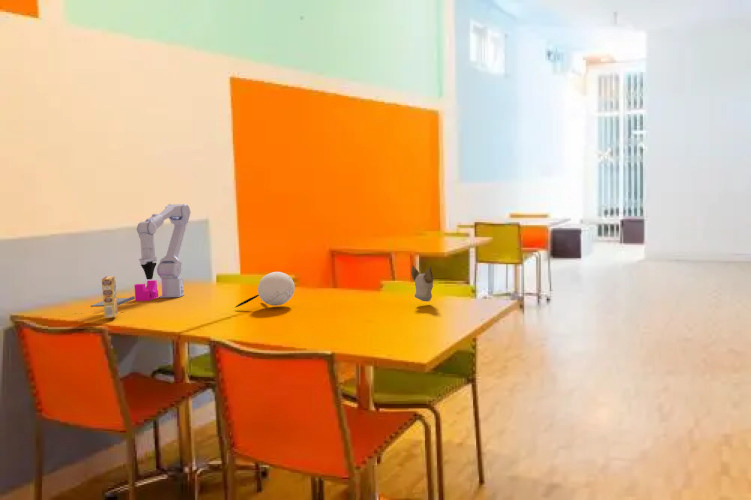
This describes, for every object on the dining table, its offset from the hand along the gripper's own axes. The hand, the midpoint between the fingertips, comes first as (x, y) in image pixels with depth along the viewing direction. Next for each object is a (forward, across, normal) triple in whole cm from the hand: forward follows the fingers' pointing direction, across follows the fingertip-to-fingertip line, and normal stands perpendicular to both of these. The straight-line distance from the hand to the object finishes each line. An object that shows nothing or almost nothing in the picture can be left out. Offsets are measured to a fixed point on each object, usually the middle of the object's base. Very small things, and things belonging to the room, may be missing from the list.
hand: (149, 279), depth 316 cm
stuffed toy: (-2, +24, +67) cm, 71 cm away
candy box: (+10, +35, -3) cm, 37 cm away
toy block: (+10, -10, -5) cm, 16 cm away
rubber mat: (+10, 0, -17) cm, 20 cm away
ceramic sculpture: (+10, +21, +121) cm, 123 cm away
